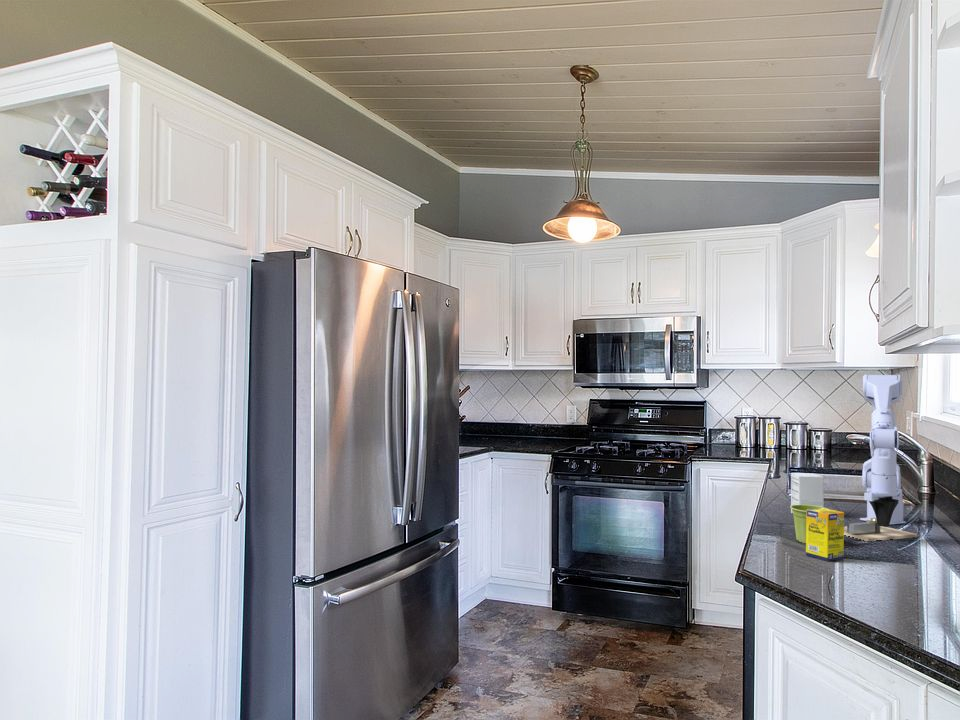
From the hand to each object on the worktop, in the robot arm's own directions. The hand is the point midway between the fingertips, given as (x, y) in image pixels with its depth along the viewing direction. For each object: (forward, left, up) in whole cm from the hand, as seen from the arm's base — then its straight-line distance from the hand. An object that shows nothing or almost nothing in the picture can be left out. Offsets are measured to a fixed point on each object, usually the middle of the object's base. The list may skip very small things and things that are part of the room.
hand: (883, 526), depth 183 cm
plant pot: (+21, -4, -4) cm, 22 cm away
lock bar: (+1, -4, -2) cm, 5 cm away
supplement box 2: (+30, +9, -4) cm, 32 cm away
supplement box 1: (-6, -31, -4) cm, 32 cm away
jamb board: (-3, -6, -4) cm, 8 cm away
